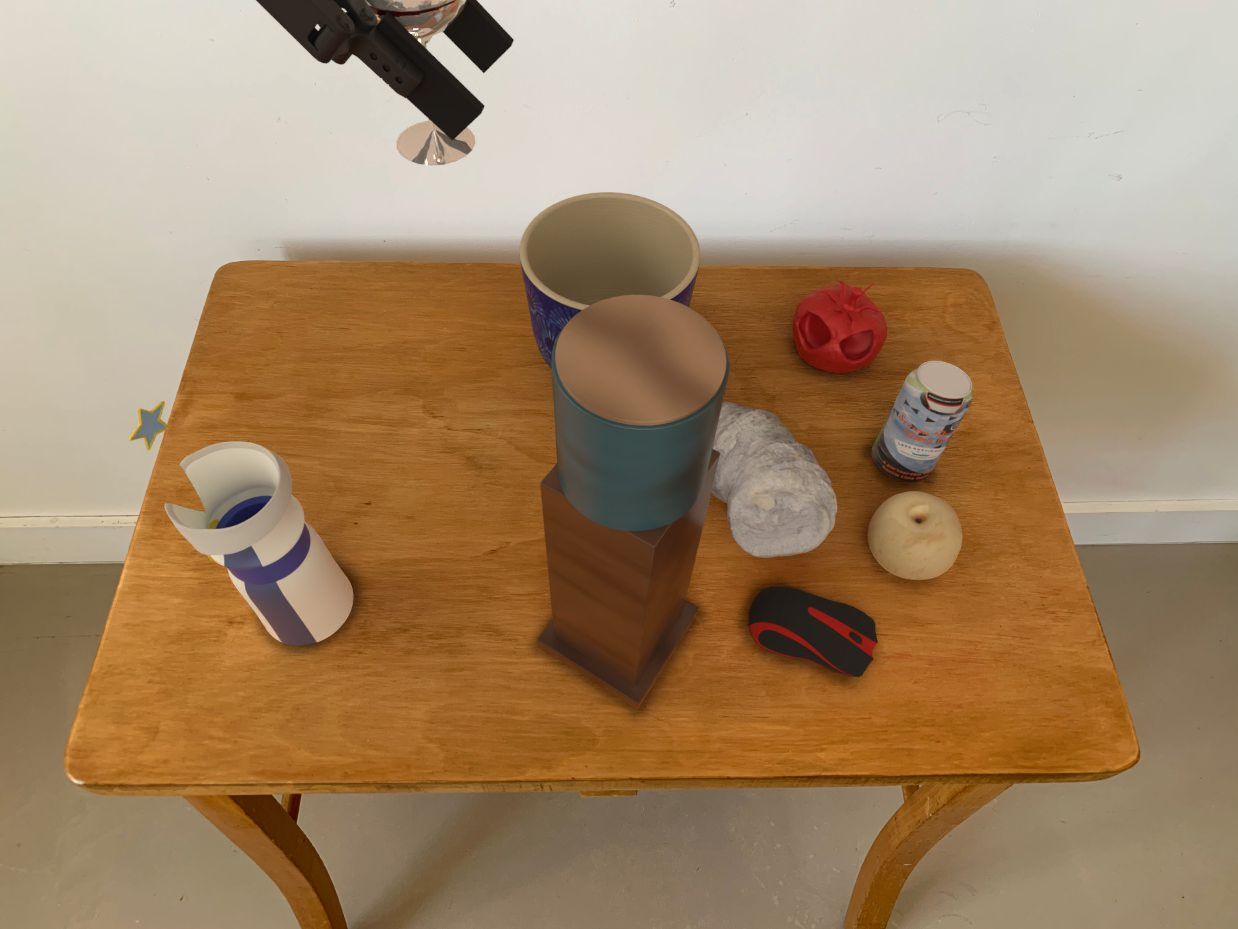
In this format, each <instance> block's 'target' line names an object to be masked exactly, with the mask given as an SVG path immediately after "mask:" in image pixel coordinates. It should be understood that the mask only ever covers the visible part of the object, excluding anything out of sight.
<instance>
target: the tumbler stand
mask: <svg viewBox="0 0 1238 929" xmlns="http://www.w3.org/2000/svg"><path fill="white" fill-rule="evenodd" d="M551 364H552V369H551V378H552V379H551V380H552V395H553V398H552V399H553V416H554V434H555V450H556V462H555V464H554V465H553V467H551V469H550V470H549V472H548V473H546V475H545V476H544V477H543V478H542V480H541V481H540V483H539V486H540V496H541V497H540V498H541V499H540V500H541V506H542V507H541V509H542V520H543V529H544V531H543V532H544V541H545V542H544V544H545V552H546V553H545V554H546V564H547V565H546V566H547V575H548V585H549V596H550V607H551V620H550V621H549V623H548V624H547V625H546V627H545V628H544V629H543V630H542V632H541V634H540V635H539V636H538V638H537V639H536V642H537V647H538V648H539V649H541V650H543V651H544V652H546V653H547V654H548V655H551V656H552V657H554V658H555V659H556V660H558V661H560V662H561V663H563V664H564V665H567V667H569V668H571V669H572V670H573V671H575V672H577V673H578V674H580V675H582V676H583V677H585V678H586V679H588V680H589V681H591V682H592V683H594V684H595V685H597V686H599V687H600V688H602V689H603V690H605V691H607V692H608V693H610V694H611V695H612V696H614V697H616V698H617V699H619V700H621V701H622V702H624V703H625V704H627V705H628V706H630V707H631V708H633V709H634V710H637V711H638V710H639V709H640V707H641V706H642V704H643V702H644V701H645V699H646V697H647V696H648V694H650V691H651V690H652V688H653V686H654V685H655V683H656V681H657V680H658V678H659V677H660V675H661V674H662V672H663V671H664V669H665V668H666V666H667V664H668V663H669V661H670V659H671V658H672V656H673V654H674V653H675V651H676V650H677V648H678V646H679V645H680V643H681V642H682V641H683V639H684V637H685V635H686V634H687V632H688V630H689V629H690V627H691V626H692V624H693V623H694V621H695V620H696V618H697V617H698V613H699V607H698V606H697V605H695V604H693V603H691V602H689V601H688V600H687V596H688V592H689V587H690V585H691V584H690V583H691V580H692V575H693V571H694V566H695V562H696V558H697V553H698V549H699V546H700V542H701V538H702V533H703V529H704V525H705V520H706V516H707V511H708V507H709V504H710V499H711V496H712V493H711V491H712V487H713V483H714V479H715V474H716V470H717V466H718V462H719V458H720V452H718V451H716V450H714V449H712V448H713V444H714V439H715V435H716V430H717V426H718V421H719V417H720V412H721V408H722V403H724V398H725V393H726V389H727V385H728V380H729V375H730V357H729V353H728V350H727V347H726V344H725V342H724V340H723V339H722V337H721V335H720V334H719V333H718V331H717V329H716V328H715V327H714V326H713V325H712V324H711V323H710V322H709V321H708V320H707V319H706V317H704V316H702V315H701V314H700V313H698V312H697V311H696V310H695V309H692V308H691V307H687V306H685V305H683V304H681V303H678V302H676V301H673V300H669V299H666V298H662V297H657V296H649V295H624V296H618V297H612V298H609V299H605V300H602V301H599V302H597V303H594V304H592V305H590V306H588V307H587V308H585V309H583V310H582V311H580V312H579V313H578V314H576V315H575V316H574V317H573V318H572V319H571V320H570V321H569V322H568V323H567V324H566V325H565V326H564V328H563V329H562V330H561V332H560V333H559V335H558V337H557V339H556V341H555V344H554V346H553V351H552V362H551Z"/></svg>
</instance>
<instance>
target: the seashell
mask: <svg viewBox="0 0 1238 929" xmlns="http://www.w3.org/2000/svg"><path fill="white" fill-rule="evenodd" d="M712 449H714V450H716V451H718V452H720V458H719V462H718V466H717V470H716V474H715V479H714V483H713V487H712V491H711V495H713V496H714V497H715V498H716V499H718V500H719V501H721V502H723V503H725V504H726V508H727V512H726V518H727V526H728V528H729V530H730V532H731V536H732V538H733V539H734V541H735V542H736V544H738V545H739V547H740V548H741V550H743V551H744V552H745V553H747V554H748V555H751V556H753V557H756V558H763V559H764V558H766V559H767V558H768V559H769V558H775V557H789V556H790V557H791V556H795V555H799V554H805V553H808V552H810V551H811V552H812V551H813V550H814V549H816V548H817V547H819V546H820V545H821V544H822V543H823V542H824V541H825V540H826V538H827V537H828V535H829V534H830V532H832V530H833V528H834V527H835V524H836V516H837V514H838V501H837V495H836V492H835V490H834V489H833V487H832V484H833V483H832V480H831V479H830V477H829V476H828V473H827V472H826V470H825V469H824V468H823V467H822V466H821V465H820V464H819V462H818V460H817V458H816V456H815V455H814V453H813V452H814V451H813V450H812V449H811V448H810V447H808V446H807V445H806V444H804V443H801V442H799V441H796V438H795V436H794V434H793V433H792V432H791V430H790V429H789V427H787V426H785V425H783V423H782V422H781V419H780V418H779V416H777V415H776V414H775V413H773V412H771V411H768V410H765V409H760V408H759V409H756V408H753V407H751V406H748V405H744V406H743V405H742V406H741V405H740V404H738V403H734V402H732V401H725V402H724V401H723V403H722V408H721V412H720V417H719V421H718V426H717V430H716V435H715V439H714V444H713V448H712Z"/></svg>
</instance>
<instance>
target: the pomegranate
mask: <svg viewBox="0 0 1238 929" xmlns="http://www.w3.org/2000/svg"><path fill="white" fill-rule="evenodd" d="M835 279H837V281H838V283H837V284H834V285H832V286H826V287H820V288H818V289H815V290H813V291H812V292H810V293H809V294H808V295H806V296H804V297H802V298H801V299H800V300H799V301H798V303H797V305H796V308H795V310H794V313H793V317H792V318H793V319H792V329H791V330H792V331H791V332H792V337H793V340H794V345H795V349H796V351H797V353H798V355H799V357H800V358H801V359H802V360H803V361H804V362H806V363H807V364H808V365H809V366H810V367H813V368H816V369H818V370H821V371H823V372H824V371H825V372H829V373H833V374H847V373H848V374H849V373H851V372H856V371H858V370H860V369H862V368H864V367H867V366H868V365H870V364H871V363H872V362H873V361H874V359H875V357H877V356H878V355H879V353H880V352H881V350H882V349H883V347H884V344H885V342H886V339H887V337H888V324H887V322H886V319H885V316H884V314H883V310H880V308H879V307H878V306H877V305H876V304H875V302H874V301H873V300H871V299H870V298H869V297H868V295H867V294H866V292H868V291H869V290H870V288H872V287H873V286H874V284H875V283H874V282H873V283H872V284H870V285H868V286H867V287H866V288H865V289H863V288H862V287H859V286H851V285H848V284H846V282H845V281H844V280H842V279H839V277H837V276H835Z"/></svg>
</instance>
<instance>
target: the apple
mask: <svg viewBox="0 0 1238 929" xmlns="http://www.w3.org/2000/svg"><path fill="white" fill-rule="evenodd" d="M866 536H867V543H868V547H869V549H870V552H871V555H872V556H873V558H874V559H875V561H876V562H877V563H878V564H879V565H880V567H882V568H883V569H885V571H887V572H888V573H890V574H891V575H893V576H895V577H899V578H902V579H905V580H912V581H913V580H914V581H925V580H926V581H927V580H931V579H934V578H937V577H939V576H941V575H943V574H945V573H946V572H947V571H948V570H949V569H950V568H952V566H953V565H954V563H955V562H956V560H957V558H958V556H959V554H960V551H961V549H962V545H963V528H962V524H961V521H960V518H959V516H958V514H957V513H956V511H955V509H954V507H952V506H951V505H950V504H949V502H947V501H946V500H944V499H942V498H941V497H938V496H936V495H934V494H931V493H927V492H924V491H919V490H911V491H910V490H909V491H904V492H900V493H897V494H893V495H892V496H890V497H888V498H886V500H884V501H883V502H882V503H881V504H880V505H879V506H878V507H877V508H876V510H875V512H874V513H873V515H872V517H871V518H870V520H869V522H868V527H867V535H866Z"/></svg>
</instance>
